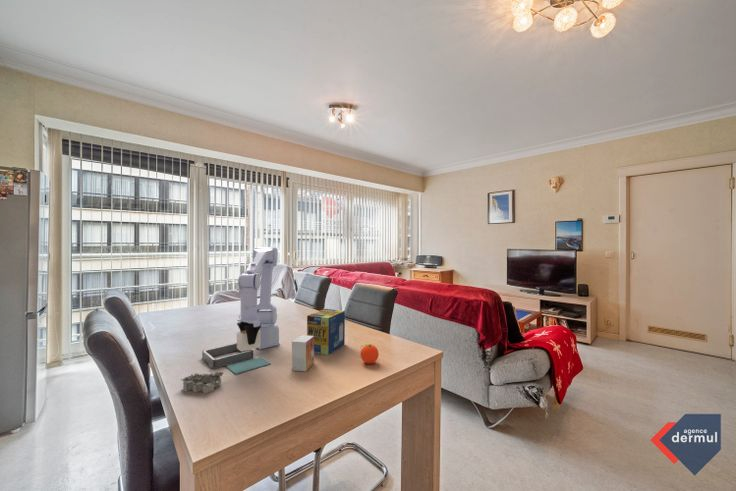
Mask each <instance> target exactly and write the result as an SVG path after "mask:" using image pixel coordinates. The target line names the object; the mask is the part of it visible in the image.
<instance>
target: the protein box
mask: <svg viewBox="0 0 736 491" xmlns="http://www.w3.org/2000/svg"><path fill="white" fill-rule="evenodd" d="M345 313H346V310H341V309H340V310H339V309H332V308H324V309H321V310H319V311H316V312H313V313H311V314H307V316H306V336H314V355H321V356H328V357H329V356H330V355H332V354H333V353H334V352H335V351H337V350H339V349H340V348H341V347H343V346H345V344H346V343H345V338H346V337H345V336H346V335H345V332H346V331H345V328H346V319H345V317H346V314H345Z"/></svg>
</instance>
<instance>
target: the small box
mask: <svg viewBox="0 0 736 491" xmlns="http://www.w3.org/2000/svg"><path fill="white" fill-rule="evenodd" d="M314 364H315V353H314V336H307V334H305V335H302V334H300V336H298V337H297V338H295V339H294V340H292V341H291V370H292V371H295V372H296V371H297V372H307V371H308V370H309V369H310V368H311V367H312V366H313V365H314Z"/></svg>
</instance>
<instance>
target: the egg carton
mask: <svg viewBox="0 0 736 491" xmlns="http://www.w3.org/2000/svg"><path fill="white" fill-rule="evenodd" d="M223 374H224V372H223V371H216V372H214V373H213V372H211V373H201V374H199V373H196V372H195V373H194V374H193V373H192V374H190V375H188V376H185V377H184V378H181V379H180V381H182V382H183V384H182V385H183V391H184V392H187V391H189V390H192V392H193V393H197V392H199V391H202V393H203V394H207V393H209V392H213V391H214V390H215V388H216V387H217V388H218V387H220V386H222V378H221V377H222V376H223Z"/></svg>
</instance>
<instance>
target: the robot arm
mask: <svg viewBox="0 0 736 491" xmlns="http://www.w3.org/2000/svg"><path fill="white" fill-rule="evenodd" d="M278 251H279V250H278V248H277V247H276V246H255V247H254V248H253V249H252V258H253V261H252V262H250V263H249V264H248V266H247V268H246V270H245V271H244V272H243V273H242V274H241V275H239V276H238V280H237V287H238V292H239V295H240V314H238V318H237V319H236V321H237V323H236V325H237V326H238V329H239V332H240V331H245V330H246V333H247V339H248V344H249V345H251V344H255V341H256V337H257V333H258V331H259V330H260V331H261V344H260V347H258V348H257V349H258V350H263V349H268V348H271V347H275V346H280V327H279V325H278V324H277V319H278V313H277V307H276V306H275V305H274V304H273V303H271V302H272V300H271V299H272V283H273V282H272V281H273V270H274V268H275V267H277V264H278V256H279V254H278V253H279V252H278ZM259 287H260V288H259ZM258 289H260V291H259V292H260V293H259V303H258Z"/></svg>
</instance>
